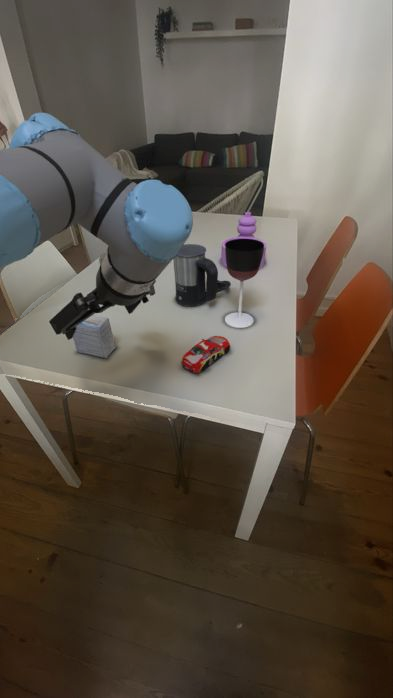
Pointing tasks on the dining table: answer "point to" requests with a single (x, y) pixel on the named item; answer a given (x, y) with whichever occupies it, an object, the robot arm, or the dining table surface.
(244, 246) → the wineglass
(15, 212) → the robot arm
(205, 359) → the race car
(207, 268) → the milk frother
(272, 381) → the dining table surface
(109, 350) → the medicine box
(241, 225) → the purple rounded knobbed piece
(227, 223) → the dining table surface
